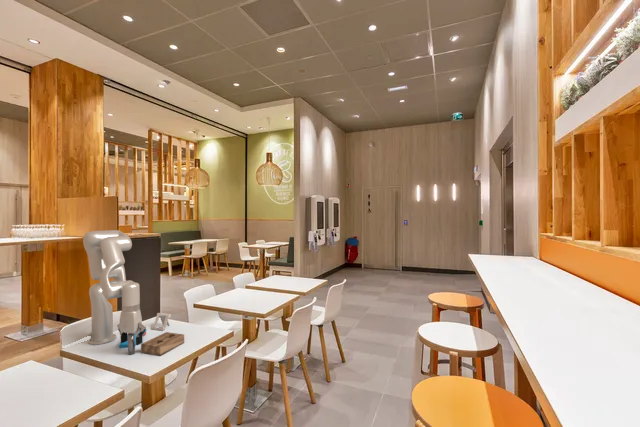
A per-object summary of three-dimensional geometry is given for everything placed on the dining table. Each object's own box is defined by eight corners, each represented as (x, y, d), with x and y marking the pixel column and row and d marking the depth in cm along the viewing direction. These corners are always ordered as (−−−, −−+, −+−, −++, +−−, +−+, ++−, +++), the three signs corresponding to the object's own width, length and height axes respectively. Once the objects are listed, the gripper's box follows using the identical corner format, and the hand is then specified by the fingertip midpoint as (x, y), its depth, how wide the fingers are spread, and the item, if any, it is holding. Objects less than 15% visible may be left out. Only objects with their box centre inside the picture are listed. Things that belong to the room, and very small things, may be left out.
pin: (126, 354, 151) (126, 334, 151) (131, 352, 154) (131, 332, 154) (131, 355, 150) (130, 335, 150) (136, 352, 153) (136, 332, 153)
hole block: (141, 353, 153) (141, 343, 153) (166, 340, 168) (166, 332, 168) (160, 356, 149) (160, 346, 149) (184, 342, 164) (184, 334, 164)
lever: (134, 355, 160) (150, 333, 178) (132, 344, 158) (149, 322, 176) (121, 356, 160) (138, 333, 177) (118, 344, 158) (136, 323, 175)
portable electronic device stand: (150, 329, 184) (150, 315, 184) (161, 325, 191) (160, 311, 191) (162, 331, 181) (162, 317, 181) (172, 326, 189) (172, 312, 189)
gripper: (110, 309, 151) (111, 344, 151) (138, 311, 146) (138, 348, 146) (124, 305, 158) (125, 338, 158) (151, 307, 153) (151, 341, 153)
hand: (131, 343), depth 152 cm, fingers open, 9 cm apart
